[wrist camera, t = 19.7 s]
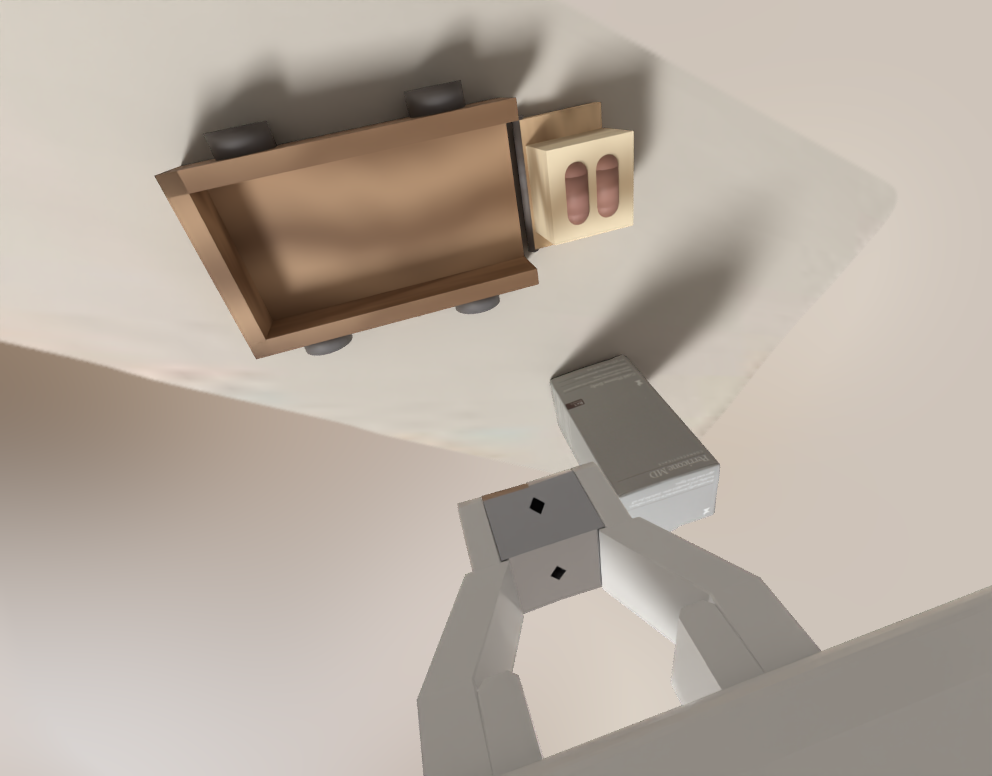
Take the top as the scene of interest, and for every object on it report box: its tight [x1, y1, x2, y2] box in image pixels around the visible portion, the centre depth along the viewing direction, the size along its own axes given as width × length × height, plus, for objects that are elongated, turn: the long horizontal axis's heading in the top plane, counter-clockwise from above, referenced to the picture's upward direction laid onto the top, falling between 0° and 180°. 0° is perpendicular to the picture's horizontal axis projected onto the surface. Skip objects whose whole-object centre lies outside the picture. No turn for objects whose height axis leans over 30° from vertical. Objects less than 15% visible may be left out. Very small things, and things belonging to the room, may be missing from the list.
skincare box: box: [550, 355, 720, 532], centre depth 40 cm, size 8×7×16 cm
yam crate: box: [526, 128, 634, 245], centre depth 32 cm, size 6×6×5 cm
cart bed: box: [155, 80, 539, 359], centre depth 31 cm, size 15×21×4 cm
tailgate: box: [512, 102, 602, 252], centre depth 34 cm, size 9×1×6 cm
